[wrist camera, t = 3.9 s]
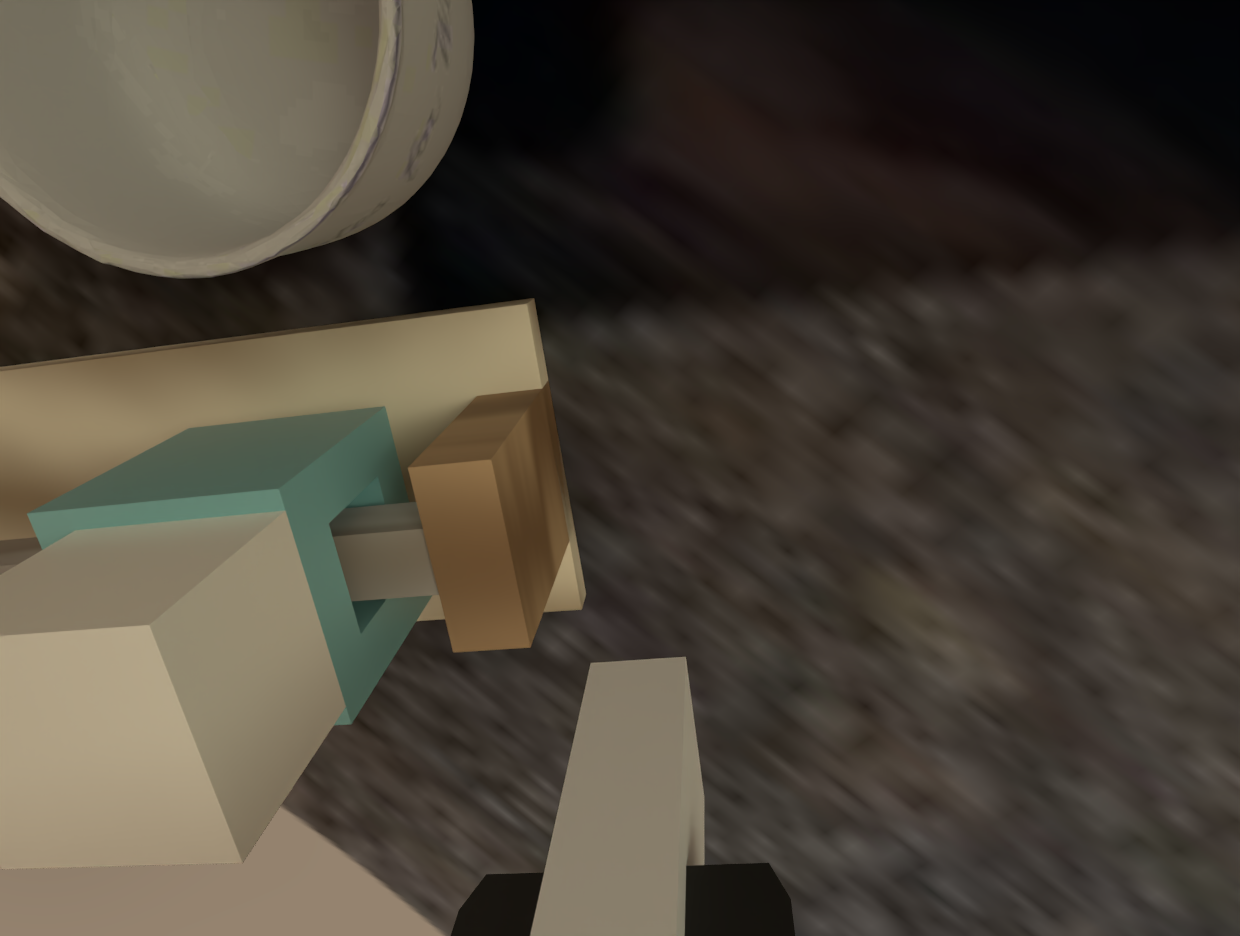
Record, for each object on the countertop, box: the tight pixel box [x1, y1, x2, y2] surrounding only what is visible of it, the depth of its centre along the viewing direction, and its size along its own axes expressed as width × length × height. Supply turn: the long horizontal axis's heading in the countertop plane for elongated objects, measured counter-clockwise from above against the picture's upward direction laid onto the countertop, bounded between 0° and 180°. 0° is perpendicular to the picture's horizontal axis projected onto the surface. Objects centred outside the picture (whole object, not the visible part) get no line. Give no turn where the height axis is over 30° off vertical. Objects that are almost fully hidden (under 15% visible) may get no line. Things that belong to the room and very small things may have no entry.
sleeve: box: [0, 406, 432, 869], centre depth 19 cm, size 6×6×10 cm
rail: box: [0, 298, 586, 652], centre depth 24 cm, size 10×28×8 cm, turn 98°
